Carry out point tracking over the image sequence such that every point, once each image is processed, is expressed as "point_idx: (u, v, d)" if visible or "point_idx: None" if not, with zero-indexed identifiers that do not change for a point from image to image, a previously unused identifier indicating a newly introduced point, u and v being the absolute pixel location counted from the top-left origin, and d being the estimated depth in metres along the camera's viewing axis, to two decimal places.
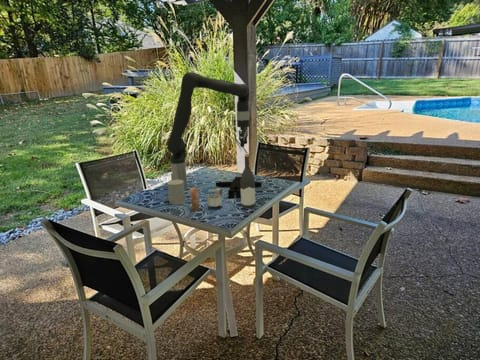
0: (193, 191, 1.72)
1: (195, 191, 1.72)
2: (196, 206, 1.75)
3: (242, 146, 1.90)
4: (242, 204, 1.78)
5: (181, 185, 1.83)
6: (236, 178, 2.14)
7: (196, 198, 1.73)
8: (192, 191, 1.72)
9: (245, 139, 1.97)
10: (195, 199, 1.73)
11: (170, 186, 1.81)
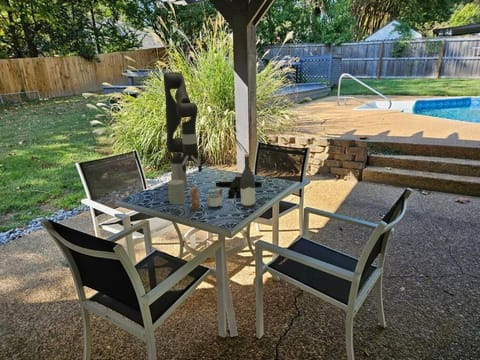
0: (193, 191, 1.72)
1: (195, 191, 1.72)
2: (196, 206, 1.75)
3: (200, 171, 1.69)
4: (242, 204, 1.78)
5: (181, 185, 1.83)
6: (236, 178, 2.14)
7: (196, 198, 1.73)
8: (192, 191, 1.72)
9: (185, 166, 1.70)
10: (195, 199, 1.73)
11: (170, 186, 1.81)
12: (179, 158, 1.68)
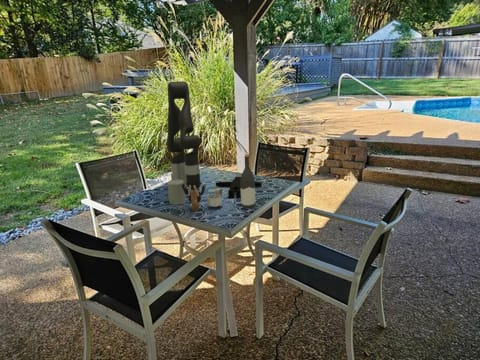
0: (193, 191, 1.72)
1: (195, 191, 1.72)
2: (196, 206, 1.75)
3: None
4: (242, 204, 1.78)
5: (181, 185, 1.83)
6: (236, 178, 2.14)
7: (196, 198, 1.73)
8: (192, 191, 1.72)
9: None
10: (195, 199, 1.73)
11: (170, 186, 1.81)
12: (184, 189, 1.73)
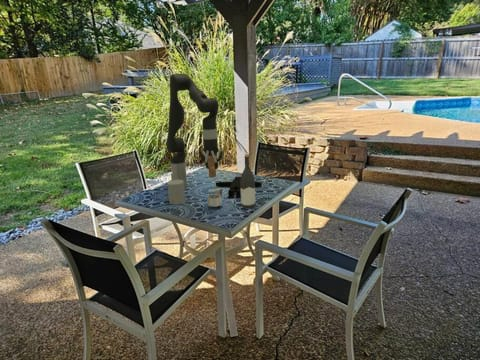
0: (210, 157, 1.67)
1: (212, 157, 1.67)
2: (213, 173, 1.70)
3: (216, 168, 1.71)
4: (242, 204, 1.78)
5: (181, 185, 1.83)
6: (236, 178, 2.14)
7: (213, 164, 1.69)
8: (209, 157, 1.67)
9: None
10: (212, 165, 1.69)
11: (170, 186, 1.81)
12: (201, 155, 1.69)
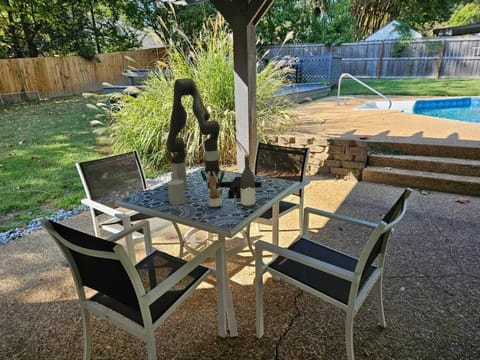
0: (212, 177, 1.71)
1: None
2: (215, 193, 1.74)
3: None
4: (242, 204, 1.78)
5: (181, 185, 1.83)
6: (236, 178, 2.14)
7: (215, 185, 1.72)
8: (211, 177, 1.71)
9: None
10: (214, 185, 1.72)
11: (170, 186, 1.81)
12: (203, 175, 1.73)
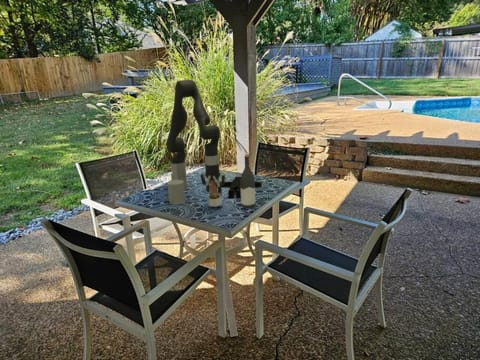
0: (212, 184, 1.72)
1: (214, 184, 1.72)
2: None
3: (219, 191, 1.75)
4: (242, 204, 1.78)
5: (181, 185, 1.83)
6: (236, 178, 2.14)
7: (215, 191, 1.74)
8: (211, 184, 1.72)
9: (208, 186, 1.75)
10: (214, 192, 1.73)
11: (170, 186, 1.81)
12: (202, 179, 1.73)
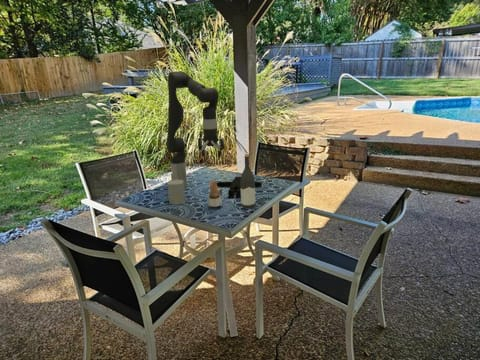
0: (212, 184, 1.72)
1: (214, 184, 1.72)
2: None
3: (219, 156, 1.71)
4: (242, 204, 1.78)
5: (181, 185, 1.83)
6: (236, 178, 2.14)
7: (215, 191, 1.74)
8: (211, 184, 1.72)
9: (204, 151, 1.73)
10: (214, 192, 1.73)
11: (170, 186, 1.81)
12: (199, 143, 1.70)
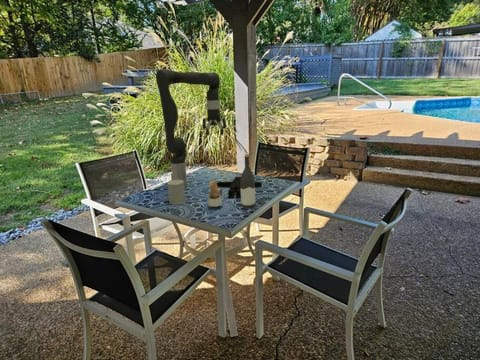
0: (212, 184, 1.72)
1: (214, 184, 1.72)
2: None
3: (222, 134, 1.91)
4: (242, 204, 1.78)
5: (181, 185, 1.83)
6: (236, 178, 2.14)
7: (215, 191, 1.74)
8: (211, 184, 1.72)
9: (208, 130, 1.92)
10: (214, 192, 1.73)
11: (170, 186, 1.81)
12: (203, 123, 1.90)
